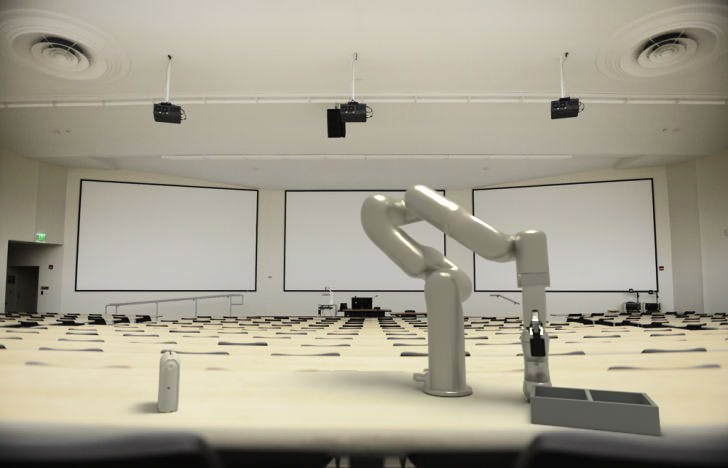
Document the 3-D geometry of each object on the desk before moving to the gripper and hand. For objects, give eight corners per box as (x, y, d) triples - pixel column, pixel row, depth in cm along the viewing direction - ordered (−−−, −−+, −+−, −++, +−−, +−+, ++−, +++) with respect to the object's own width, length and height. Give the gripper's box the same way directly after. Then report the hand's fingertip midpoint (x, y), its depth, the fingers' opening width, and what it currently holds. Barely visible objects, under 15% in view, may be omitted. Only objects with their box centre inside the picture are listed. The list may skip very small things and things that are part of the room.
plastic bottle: (556, 405, 104) (551, 316, 107) (524, 404, 106) (521, 316, 108) (550, 399, 110) (546, 314, 113) (521, 397, 112) (517, 314, 114)
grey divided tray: (531, 423, 91) (530, 396, 91) (532, 408, 102) (531, 385, 102) (660, 435, 83) (658, 406, 83) (647, 418, 94) (645, 392, 94)
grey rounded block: (179, 411, 100) (181, 353, 102) (157, 414, 99) (160, 355, 100) (176, 401, 110) (179, 348, 111) (157, 403, 108) (159, 349, 109)
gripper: (519, 282, 121) (523, 349, 118) (514, 281, 105) (520, 358, 102) (549, 281, 118) (555, 349, 116) (550, 280, 102) (556, 359, 100)
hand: (538, 353), depth 109 cm, fingers open, 9 cm apart
